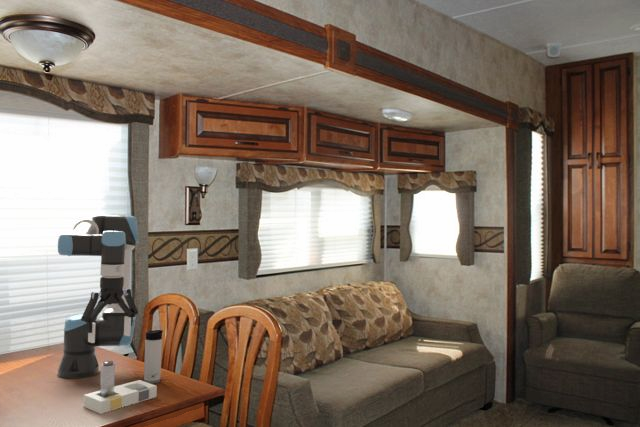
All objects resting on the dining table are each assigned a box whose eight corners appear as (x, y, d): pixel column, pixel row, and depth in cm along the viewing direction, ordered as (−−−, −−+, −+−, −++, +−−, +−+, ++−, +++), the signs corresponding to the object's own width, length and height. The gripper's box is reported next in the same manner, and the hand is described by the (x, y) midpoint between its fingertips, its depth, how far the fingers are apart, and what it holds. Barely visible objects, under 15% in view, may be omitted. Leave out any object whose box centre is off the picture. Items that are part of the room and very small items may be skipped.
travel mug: (156, 384, 211) (158, 332, 210) (140, 382, 212) (142, 331, 212) (164, 379, 217) (166, 329, 217) (148, 378, 218) (150, 327, 218)
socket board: (83, 406, 185) (84, 394, 185) (139, 390, 203) (139, 379, 203) (101, 414, 179) (101, 401, 179) (156, 397, 197) (157, 385, 197)
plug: (97, 406, 186) (98, 362, 186) (108, 402, 189) (110, 359, 189) (104, 409, 183) (106, 364, 183) (116, 405, 187) (117, 362, 187)
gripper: (84, 280, 174) (81, 347, 174) (149, 274, 194) (147, 334, 195) (71, 278, 178) (68, 343, 179) (136, 272, 199) (134, 331, 199)
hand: (109, 338), depth 187 cm, fingers open, 13 cm apart
